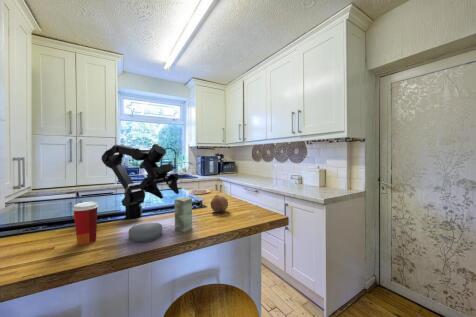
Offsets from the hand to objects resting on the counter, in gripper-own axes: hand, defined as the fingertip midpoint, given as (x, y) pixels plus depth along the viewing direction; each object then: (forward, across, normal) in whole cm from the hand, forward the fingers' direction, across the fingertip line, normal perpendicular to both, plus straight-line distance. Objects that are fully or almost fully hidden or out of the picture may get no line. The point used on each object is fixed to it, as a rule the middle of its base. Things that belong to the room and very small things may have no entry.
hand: (170, 195), depth 91 cm
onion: (+15, +27, +4) cm, 31 cm away
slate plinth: (+9, -12, +10) cm, 18 cm away
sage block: (+15, 0, +4) cm, 15 cm away
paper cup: (-1, -26, +20) cm, 33 cm away
